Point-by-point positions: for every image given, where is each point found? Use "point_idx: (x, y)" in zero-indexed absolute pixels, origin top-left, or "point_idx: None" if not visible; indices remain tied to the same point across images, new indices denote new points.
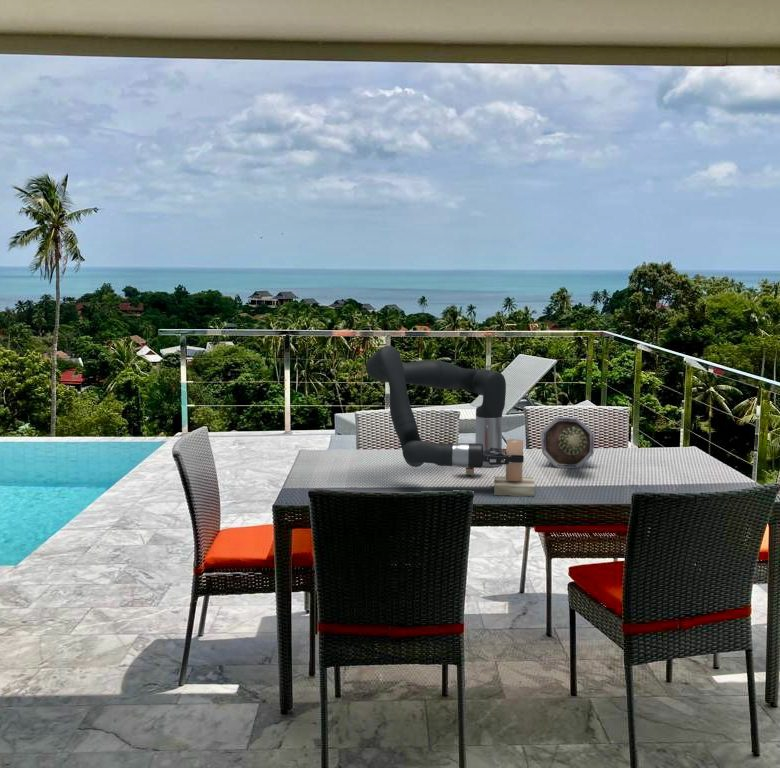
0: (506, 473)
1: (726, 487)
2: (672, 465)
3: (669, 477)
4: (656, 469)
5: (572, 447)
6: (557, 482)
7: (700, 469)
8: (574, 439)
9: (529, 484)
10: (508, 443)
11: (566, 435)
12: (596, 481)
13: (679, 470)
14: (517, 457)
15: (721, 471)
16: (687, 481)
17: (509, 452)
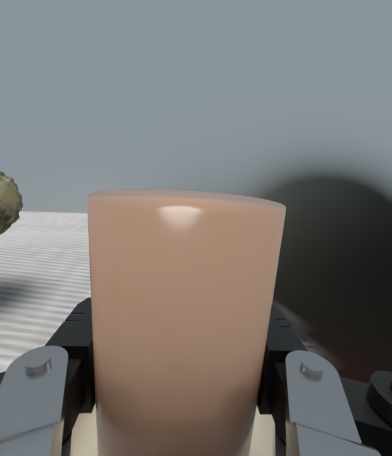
0: None
1: None
2: (18, 224)
3: (83, 232)
4: (30, 232)
5: (9, 218)
6: (44, 337)
7: (55, 219)
8: (9, 192)
9: None
10: (264, 241)
11: None
12: (73, 278)
13: (50, 225)
14: (289, 324)
15: (73, 215)
16: None
17: (262, 345)
